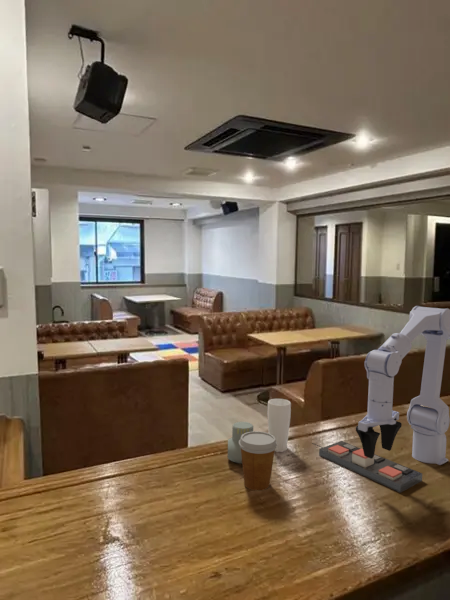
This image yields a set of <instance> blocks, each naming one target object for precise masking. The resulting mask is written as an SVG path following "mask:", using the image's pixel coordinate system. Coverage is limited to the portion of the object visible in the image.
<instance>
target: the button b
mask: <svg viewBox="0 0 450 600" xmlns="http://www.w3.org/2000/svg"><path fill="white" fill-rule="evenodd" d="M352 462H353V463H355V464H357V465H358V466H360V467H363V468H367V467H368V466H370V465H372V464H374V457H373V458H372V459H371V458H368V457H366V456H364V451H363V447H361V449H359V450H356V451H354V452H352Z"/></svg>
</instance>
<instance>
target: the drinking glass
mask: <svg viewBox="0 0 450 600" xmlns="http://www.w3.org/2000/svg"><path fill="white" fill-rule="evenodd" d="M291 407H292V403H291V401H290V400H288V399H284V398H271V399H269V400H268V401H267V431H268V432H267V433H269V434H271V435H273V436H274V437H275V440H276V442H277V446H276V449H275V452H277V453H280V452H281V453H282V452H286V451H287V450H288V442H289V434H290V433H289V432H290V426H291V425H290V424H291V414H292V413H291V412H292V409H291Z"/></svg>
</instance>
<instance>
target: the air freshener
mask: <svg viewBox="0 0 450 600" xmlns="http://www.w3.org/2000/svg"><path fill="white" fill-rule="evenodd" d="M253 431H254V425H253V424H252V423H251V422H248V421H237V422H234V423H233V424H232V431H231V433H232V435H231V436H232V437H230V438H228V439H227V459H228V460H229V461H231V462H234V464H235V463H236V464H240V465H242V456H241V448H240V445H239V440H240V438H241V436H242V434H244V433H247V432H253Z"/></svg>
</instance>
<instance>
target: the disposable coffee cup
mask: <svg viewBox="0 0 450 600" xmlns="http://www.w3.org/2000/svg"><path fill="white" fill-rule="evenodd" d="M239 445H240V448H241V456H242V464H241V465H242V474H243V481H244V482H243V483H244V487H246V488H247V489H248V490H252V491H264V490H266V489H268V488H270V482H271V478H272V471H273V463H274V457H275V452H276V451H275V449H276V446H277V442H276V440H275V437H274V436H273V435H271V434H269V433H268V432H265V431H257V430H255V431H254V430H253V432H247V433H244V434H242V436H241V438H240V440H239Z"/></svg>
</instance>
